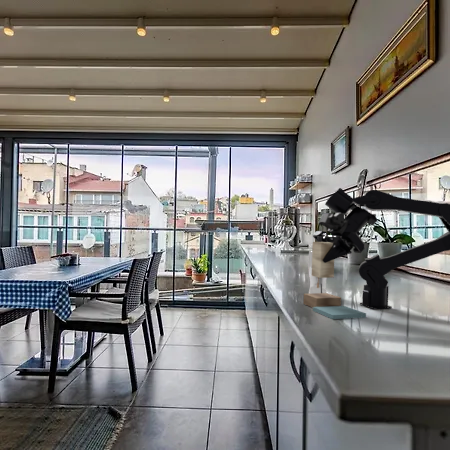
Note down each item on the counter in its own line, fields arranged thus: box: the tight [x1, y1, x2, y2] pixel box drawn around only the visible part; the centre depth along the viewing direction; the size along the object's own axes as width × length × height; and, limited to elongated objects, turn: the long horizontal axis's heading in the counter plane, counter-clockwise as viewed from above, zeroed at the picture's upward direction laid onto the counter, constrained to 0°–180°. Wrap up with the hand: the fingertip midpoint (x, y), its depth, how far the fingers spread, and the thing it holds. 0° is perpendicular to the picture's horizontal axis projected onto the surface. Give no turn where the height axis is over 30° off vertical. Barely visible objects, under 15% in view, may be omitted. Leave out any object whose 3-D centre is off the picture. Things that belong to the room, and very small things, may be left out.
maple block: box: [311, 241, 335, 279], centre depth 101 cm, size 4×4×10 cm
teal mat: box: [312, 305, 367, 320], centre depth 91 cm, size 10×9×1 cm
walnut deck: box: [302, 292, 342, 309], centre depth 101 cm, size 8×7×3 cm
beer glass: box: [307, 250, 328, 294], centre depth 119 cm, size 7×7×15 cm
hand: (318, 260), depth 101 cm, fingers closed on maple block, 4 cm apart
